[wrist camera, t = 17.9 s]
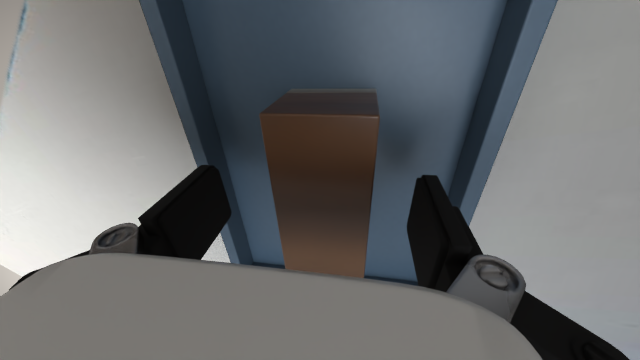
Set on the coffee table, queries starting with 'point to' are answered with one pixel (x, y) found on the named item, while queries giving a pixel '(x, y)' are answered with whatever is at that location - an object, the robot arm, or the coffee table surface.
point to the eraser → (323, 176)
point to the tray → (349, 73)
